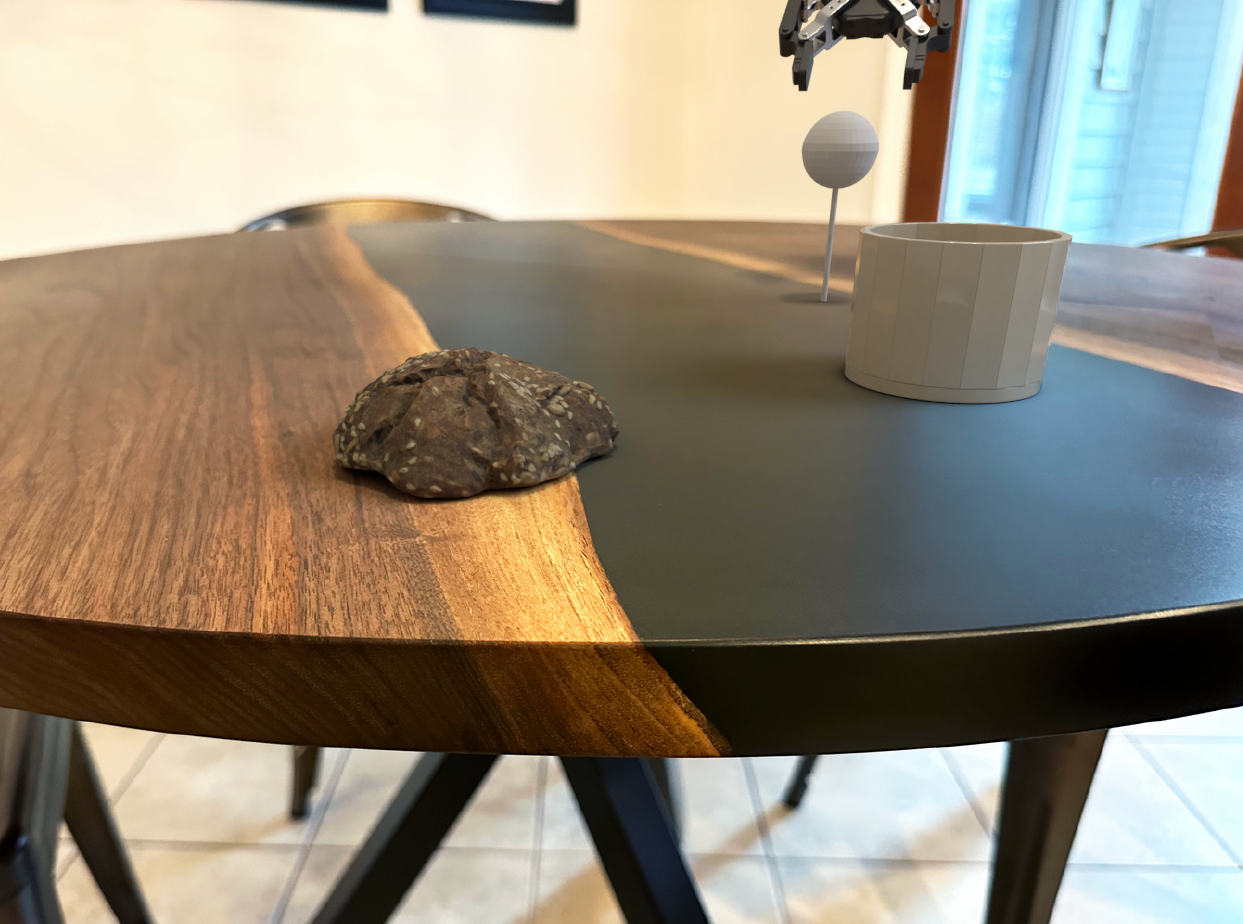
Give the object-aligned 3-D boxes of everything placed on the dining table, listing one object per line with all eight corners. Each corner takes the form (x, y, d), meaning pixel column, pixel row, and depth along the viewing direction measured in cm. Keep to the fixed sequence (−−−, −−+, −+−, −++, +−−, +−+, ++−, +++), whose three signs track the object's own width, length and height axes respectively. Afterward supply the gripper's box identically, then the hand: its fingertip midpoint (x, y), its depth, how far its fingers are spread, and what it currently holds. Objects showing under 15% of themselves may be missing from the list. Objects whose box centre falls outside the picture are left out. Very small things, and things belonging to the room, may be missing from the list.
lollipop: (773, 297, 82) (789, 111, 77) (828, 292, 85) (847, 110, 79) (818, 309, 77) (839, 110, 71) (875, 303, 79) (900, 109, 73)
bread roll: (443, 402, 53) (438, 312, 51) (644, 435, 47) (648, 335, 45) (275, 470, 42) (261, 362, 41) (506, 523, 37) (502, 399, 35)
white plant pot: (972, 353, 62) (995, 219, 59) (1084, 398, 52) (1119, 240, 49) (815, 360, 61) (829, 223, 58) (898, 408, 51) (921, 245, 48)
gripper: (799, -88, 84) (766, 48, 78) (972, -102, 79) (950, 42, 73) (801, -13, 90) (771, 117, 85) (961, -22, 85) (940, 116, 80)
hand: (854, 82), depth 79 cm, fingers open, 8 cm apart
